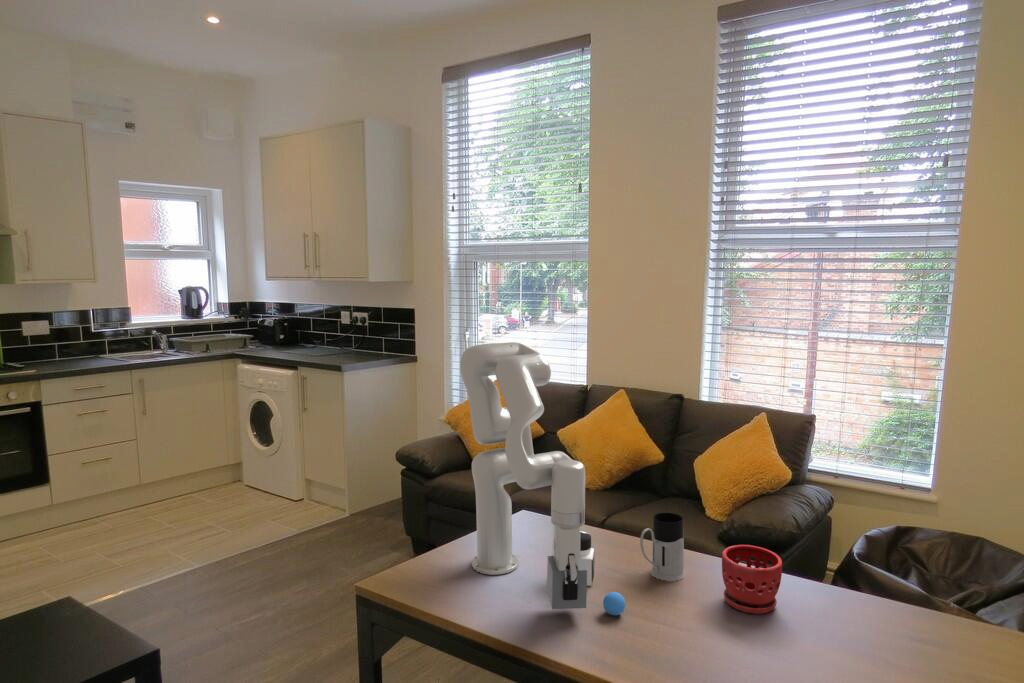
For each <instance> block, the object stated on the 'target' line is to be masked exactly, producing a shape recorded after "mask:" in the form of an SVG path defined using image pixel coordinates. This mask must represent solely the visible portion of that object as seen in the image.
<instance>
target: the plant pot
mask: <svg viewBox="0 0 1024 683" xmlns="http://www.w3.org/2000/svg"><path fill="white" fill-rule="evenodd" d="M721 554H722V555H721V573H722V579H723V583H724V587H725V589H724V590H723V597H724V598H723V599H724V600H725V601H726V602H727V604H728V605H730V606H731V607H732V608H734V609H736V610H739V611H740V612H745V613H748V614H756V615H757V614H766V613H769V612H771V611H772V610H774V609H775V608H776V606H777V603H778V602H777V598H776V596H777V593H778V592H779V590H780V586H781V582H782V581H781V580H782V574H783V560H782V558H781V557H780V556H779V555H778V554H777V553H776V552H773V551H772V550H769V549H767V548H764V547H761V546H758V545H757V546H756V545H750V544H737V545H736V544H735V545H731V546H728V547H726V548H724V550H723V551H722V553H721ZM737 556H738V557H737ZM751 557H754V558H755V559H754V560H751ZM761 559H762V560H763V561H761ZM768 561H770V563H771V565H772V566H770V567H769V566H768ZM740 562H745V563H746V565H742V564H739V563H740ZM752 565H754V567H752ZM760 567H762V568H760Z"/></svg>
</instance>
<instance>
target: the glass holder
mask: <svg viewBox="0 0 1024 683" xmlns="http://www.w3.org/2000/svg"><path fill="white" fill-rule="evenodd" d="M652 518H653V522H652V523H653V524H652V525H653V526H652V528H653V529H651V528H648V527H647V528H645V529H643V530H642V531H641V534H640V538H639V540H640V543H639V545H640V549H641V552H642V555H643V558H644V559H645V560H646V561H647V562H648V563H650V564H651V565H652V567H651V570H650V575H651V574H652V575H653V576H654V578H655V577H656V579H657V578H658V579H657V580H659V579H661V581H663V580H666V581H665V582H677V581H676V580H679V581H682V580H684V579H685V578H684V577H686V573H685V570H684V568H685V567H684V566H685V565H684V564H685V563H684V562H685V561H684V560H685V558H684V556H685V555H684V554H685V553H684V548H685V547H684V546H685V544H684V542H685V541H684V540H685V539H684V538H685V532H684V531H685V530H684V517H683V516H682V515H680V514H677V513H673V512H657V513H656V514H654V515H653V517H652ZM648 531H650V533H651V542H652V561H651V560H650V559H649V557H647V555H646V552H645V548H644V536H645V533H646V532H648ZM652 575H651V576H652ZM653 576H652V577H653ZM683 578H684V579H683ZM681 579H682V580H681Z"/></svg>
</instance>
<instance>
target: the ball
mask: <svg viewBox="0 0 1024 683" xmlns="http://www.w3.org/2000/svg"><path fill="white" fill-rule="evenodd" d="M602 605H603V609H604V610H605V612H606V613H607V614H609V615H611V616H615V617H616V616H619V615H621V614H622V613H624V610H625V608H626V601H625V598H624V597H623V595H622V594H621V593H619V592H617V591H610V592H608V593H607V594H606V595H604V598H603V601H602Z"/></svg>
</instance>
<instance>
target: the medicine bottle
mask: <svg viewBox="0 0 1024 683" xmlns="http://www.w3.org/2000/svg"><path fill="white" fill-rule="evenodd" d="M580 555H581V558H582V560H583V562H584V564H585V567H586V569H587V587H592V586H593V584H594V578H595V548H593V547H592V535H591V534H590V533H588V532H587V531H584V530H583V531H581V530H580Z"/></svg>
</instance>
